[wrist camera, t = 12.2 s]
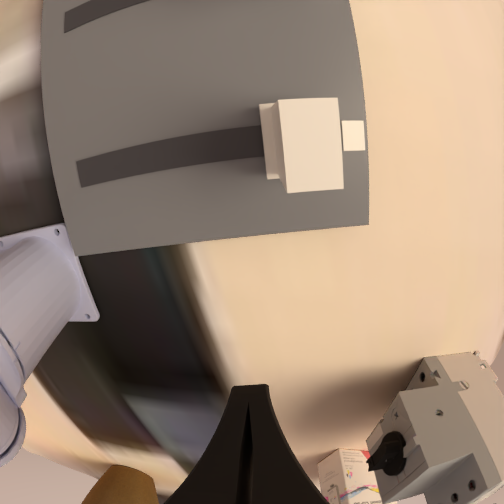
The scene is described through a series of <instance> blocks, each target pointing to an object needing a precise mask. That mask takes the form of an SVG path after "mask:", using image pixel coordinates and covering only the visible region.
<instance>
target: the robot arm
mask: <svg viewBox="0 0 504 504" xmlns="http://www.w3.org/2000/svg"><path fill="white" fill-rule="evenodd" d="M57 229H58V230H59V233H58V232H57ZM99 317H100V315H99V312H98V310H97V307H96V305H95V302H94V300H93V297H92V295H91V292H90V289H89V287H88V284H87V281H86V279H85V276H84V273H83V270H82V267H81V264H80V261H79V258H78V256H75V254H74V251H73V248H72V244H71V241H70V238H69V235H68V231H67V228H66V224H65V223H59V224H54V225H50V226H45V227H41V228H36V229H32V230H28V231H23V232H19V233H15V234H11V235H7V236H3V237H0V467H2V466H3V465H5V464H7V463H8V462H10V461H11V460H12V459H13V458H14V457H15V456H16V454H17V453H18V451H19V450H20V448H21V446H22V444H23V441H24V438H25V433H26V421H25V416H24V413H23V411H22V409H21V407H20V406H21V405H22V403H23V401H24V400H25V398H26V396H27V394H26V392H25V390H24V388H23V385H24V383H25V382H26V380H27V379H28V377H29V376H30V374H31V373H32V371H33V370H34V368H35V367H36V365H37V364H38V362H39V361H40V359H41V358H42V357H43V355H44V354H45V352H46V351H47V349H48V348H49V347H50V345H51V344H52V342H53V341H54V340H55V338H56V337H57V335H58V334H59V333H60V331H61V330H62V329H63V327H64V326H65V325H66V323H67V322H68V321H97V320H98V319H99ZM164 504H330V503H329V502H328V501H327V500H326V499H325V498H324V496H323V495H322V494H321V493H320V491H319V490H318V489H317V488H316V486H315V485H314V484H313V482H312V481H311V480H310V478H309V477H308V476H307V474H306V473H305V471H304V470H303V468H302V467H301V465H300V463H299V462H298V460H297V459H296V457H295V455H294V453H293V452H292V450H291V448H290V446H289V444H288V442H287V440H286V438H285V436H284V434H283V432H282V430H281V427H280V425H279V423H278V420H277V418H276V415H275V412H274V409H273V406H272V403H271V399H270V394H269V386H268V385H266V384H259V385H244V386H234V387H232V389H231V393H230V397H229V400H228V403H227V406H226V408H225V411H224V413H223V416H222V418H221V420H220V423H219V425H218V427H217V429H216V431H215V433H214V435H213V437H212V439H211V441H210V443H209V445H208V446H207V448H206V450H205V452H204V453H203V455H202V457H201V458H200V460H199V461H198V463H197V464H196V466H195V467H194V469H193V470H192V471H191V473H190V474H189V475H188V477H187V478H186V479H185V481H184V482H183V483H182V484H181V485H180V487H179V488H178V489H177V490H176V491H175V492H174V493H173V494H172V495H171V496H170V497H169V498H168V500H167V501H166V502H165V503H164Z"/></svg>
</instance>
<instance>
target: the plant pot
mask: <svg viewBox="0 0 504 504" xmlns="http://www.w3.org/2000/svg"><path fill="white" fill-rule="evenodd" d="M82 504H159V503H158V498H157V493H156V489H155V485H154V481H153V479H152V478H151V477H150V476H148V475H147V474H145V473H143V472H141V471H138V470H136V469H133V468H130V467H126V466H120V465H113V466H111V467H110V468H109V469H108V470H107V471H106V472H105V473H104V475H103V476H102V477H101V478H100V479H99V480H98V482H97V483H96V484H95V485H94V487H93V488H92V489H91V490H90V492H89V493H88V495H87V496H86V498H85V499H84V501H83V502H82Z"/></svg>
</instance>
